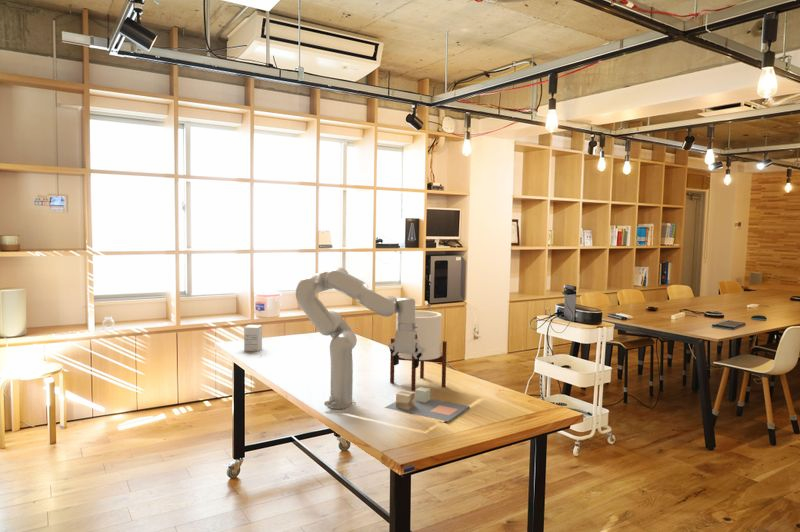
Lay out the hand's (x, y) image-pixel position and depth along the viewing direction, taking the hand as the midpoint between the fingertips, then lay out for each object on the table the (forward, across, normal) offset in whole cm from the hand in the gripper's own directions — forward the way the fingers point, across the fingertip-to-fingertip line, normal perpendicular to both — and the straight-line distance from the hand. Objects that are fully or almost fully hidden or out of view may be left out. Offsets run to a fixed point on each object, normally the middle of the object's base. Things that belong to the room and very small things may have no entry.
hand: (406, 366), depth 234 cm
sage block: (+18, -2, -12) cm, 21 cm away
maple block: (+18, 0, 0) cm, 18 cm away
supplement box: (+18, +136, -46) cm, 144 cm away
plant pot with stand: (+19, +13, -35) cm, 41 cm away
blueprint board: (+19, -8, -4) cm, 21 cm away
